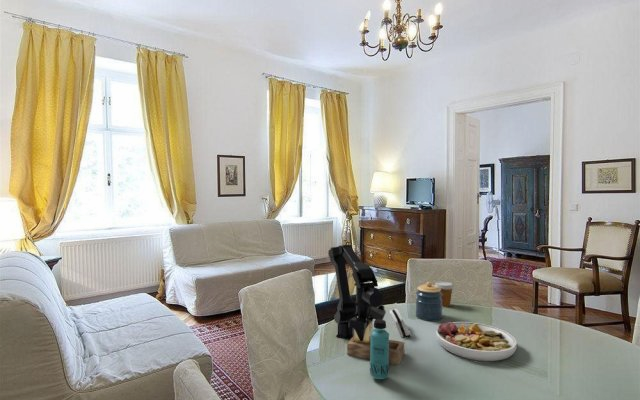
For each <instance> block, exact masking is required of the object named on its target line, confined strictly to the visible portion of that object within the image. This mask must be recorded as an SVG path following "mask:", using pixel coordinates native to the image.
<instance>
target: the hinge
mask: <svg viewBox="0 0 640 400" xmlns="http://www.w3.org/2000/svg"><path fill="white" fill-rule="evenodd" d="M388 313H389V316H390V319H391V322H392V325H393V326H394V328H395V329H396V332H397V333H398V335H399V337H400V338H404V336H407V337H408V336H410V338H412V337H413V335H412V333H411V331H410V330H409V329H408V327H407V325H406V324H405V322H404V319H403V317H402V315H401V313H400V311H399V309H397V308H393V309H390V310H388Z"/></svg>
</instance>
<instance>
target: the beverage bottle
mask: <svg viewBox="0 0 640 400" xmlns="http://www.w3.org/2000/svg"><path fill="white" fill-rule="evenodd" d="M373 322H374V323H373V328H375V329H373V331H372V332H371V346H370V359H369V374H370V376H371V377H372V378H374V379H378V380H383V379H386V378H388V377H389V372H390V363H389V340H390V333H389V332H388V331H387V330H386V328H387V321H386V320H385V319H383V320H381V319H377V320H375V319H374V320H373Z"/></svg>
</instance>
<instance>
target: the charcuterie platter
mask: <svg viewBox="0 0 640 400" xmlns="http://www.w3.org/2000/svg"><path fill="white" fill-rule="evenodd" d="M435 334H436V335H435V336H436V339H437V341H438V343H439V345H441V346H442V347H443V348H444V350H447V351H448V352H450V353H451V354H453V355H456V356H458V357H461V358H465V359H468V360H473V361H474V360H475V361H480V362H495V361H496V362H497V361H502V360H506V359H508V358H510V357H511V356H513V355H514V354H515V352H516V349H517V345H518V343H517V340H516V338H515V337H514V335H513V336H512V334H511V333H509V332H507V331H506V330H504V329H500V328H498V327H496V326H492V325H489V324H485V323H479V322H470V321H454V322H452V321H447V322H442V323H440V325H439V326H438V327H437V328H436V332H435Z"/></svg>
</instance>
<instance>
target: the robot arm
mask: <svg viewBox="0 0 640 400" xmlns="http://www.w3.org/2000/svg"><path fill="white" fill-rule="evenodd" d="M327 253H328V258H329V260H330V263H331V264H332V266H333V268H335V276H336V283H337V289H338V297H339V301H338V304H337V307H336V309H337V311H336V312H335V314H334V317H333V318H334V322H335V323H336V324H337V334H336V337H337V338H341V339H348V340H351V338H352V337H353V336H354V329H355V331H356V333H357V335H358V337H359V339H360V341H363V338H364V332H365V328H367V327H368V325H367V320H373V321H375V320H377V319H381V320H384V318H385V315H386V313H387V312H386V308H385V306H384V305H383V302H384V297H383V294H382V293H381V292H379V288H378V287H379V285H378V280H377V277H376V275H375V272H374V270H373V269H372V267H370V266H369V265H368V264H367V263H364V262H362V260H361V259H360V257H359V256H358V255H357V254H356V252H355V251H354V249H353V246H352V245H351V244H349V243H348V244H341V245H338V246H332V247H330V248H329V250H328V252H327ZM347 264H348V265H349V267H350V269H351V270H352V279H353V280H354V282H355V283H354V286H355V288H356V289H355V290H356V291H355V294H356V295H355V301H353V299H352V297H351V291H350V285H349V280H348V278H349V277H348V272H347V267H346V265H347ZM366 319H367V320H366Z"/></svg>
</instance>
